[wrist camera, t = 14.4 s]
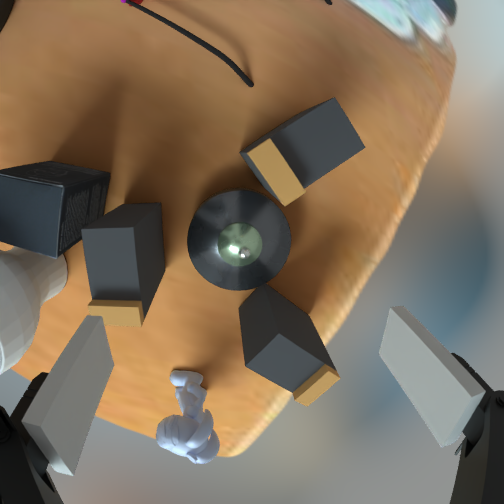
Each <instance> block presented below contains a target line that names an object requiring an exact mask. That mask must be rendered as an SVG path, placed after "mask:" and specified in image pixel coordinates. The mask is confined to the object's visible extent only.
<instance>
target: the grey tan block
mask: <svg viewBox="0 0 504 504" xmlns="http://www.w3.org/2000/svg"><path fill="white" fill-rule="evenodd" d="M81 232H82V240H83V247H84V255H85V261H86V268H87V274H88V279H89V285H90V290H91V295H92V301H91V302H90V303H89V305H88V310H89V314H90V315H91V316H102V318H103V322H104V325H108V326H131V327H142V324H143V322H144V319H145V317H146V314H147V312H148V310H149V307H150V305H151V303H152V300H153V298H154V295H155V293H156V291H157V288H158V286H159V284H160V282H161V279H162V277H163V275H164V273H165V260H164V246H163V231H162V212H161V203H139V204H122V205H120V206H119V207H117V208H115V209H114V210H112V211H110V212H108V213H107V214H105V215H103V216H102V217H100V218H99V219H97V220H95V221H94V222H92V223H90V224H89V225H87V226H86V227H84V228H82V229H81Z"/></svg>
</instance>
